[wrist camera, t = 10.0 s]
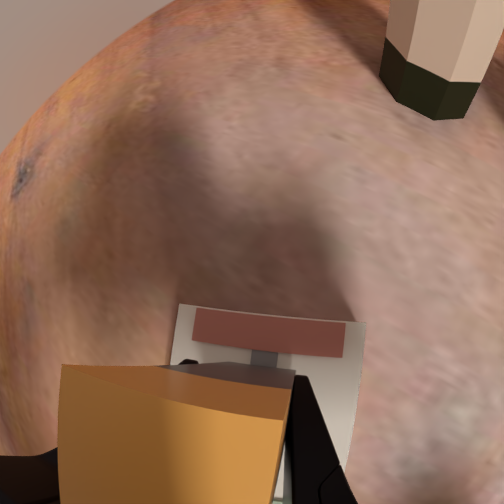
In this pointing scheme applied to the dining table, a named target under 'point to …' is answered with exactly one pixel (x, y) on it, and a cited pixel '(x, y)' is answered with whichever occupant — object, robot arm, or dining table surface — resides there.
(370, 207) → the dining table surface
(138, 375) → the lever
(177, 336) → the plate
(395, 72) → the wine bottle
